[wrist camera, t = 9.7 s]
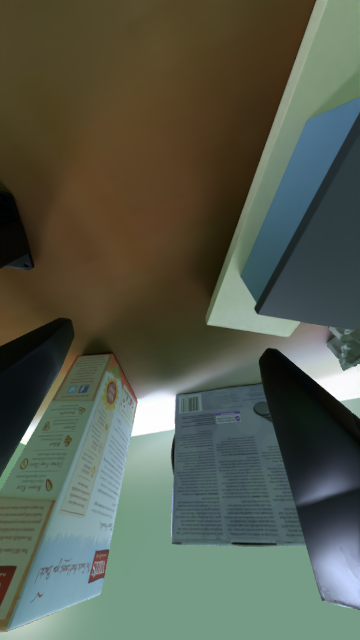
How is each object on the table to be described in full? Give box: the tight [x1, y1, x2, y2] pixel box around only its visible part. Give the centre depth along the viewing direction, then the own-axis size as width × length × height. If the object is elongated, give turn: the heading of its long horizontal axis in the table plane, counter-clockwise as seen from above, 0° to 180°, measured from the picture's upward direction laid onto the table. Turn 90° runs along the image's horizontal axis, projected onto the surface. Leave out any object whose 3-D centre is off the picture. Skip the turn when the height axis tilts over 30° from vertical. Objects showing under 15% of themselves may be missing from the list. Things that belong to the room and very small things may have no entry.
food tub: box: [240, 97, 360, 330], centre depth 11 cm, size 7×9×5 cm
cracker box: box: [0, 354, 137, 632], centre depth 23 cm, size 14×6×21 cm, turn 6°
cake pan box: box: [171, 384, 306, 547], centre depth 27 cm, size 19×5×18 cm, turn 105°
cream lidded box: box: [205, 0, 360, 337], centre depth 14 cm, size 9×20×4 cm, turn 169°
